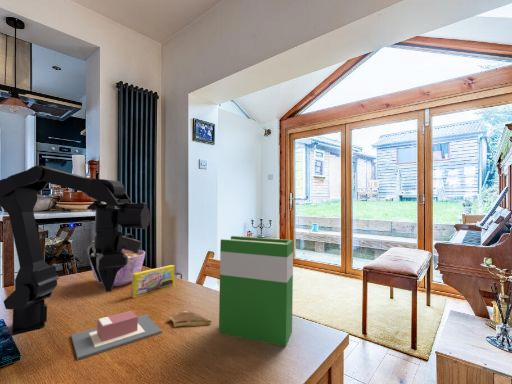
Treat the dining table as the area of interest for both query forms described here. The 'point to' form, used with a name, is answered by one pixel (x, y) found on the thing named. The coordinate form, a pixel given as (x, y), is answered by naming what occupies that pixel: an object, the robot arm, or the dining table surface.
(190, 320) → the shard
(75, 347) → the mat
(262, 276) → the green cereal box
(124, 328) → the pink and white block
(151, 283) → the candy box
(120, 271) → the bowl of food
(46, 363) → the dining table surface
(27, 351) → the dining table surface
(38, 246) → the robot arm
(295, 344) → the dining table surface
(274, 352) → the dining table surface
